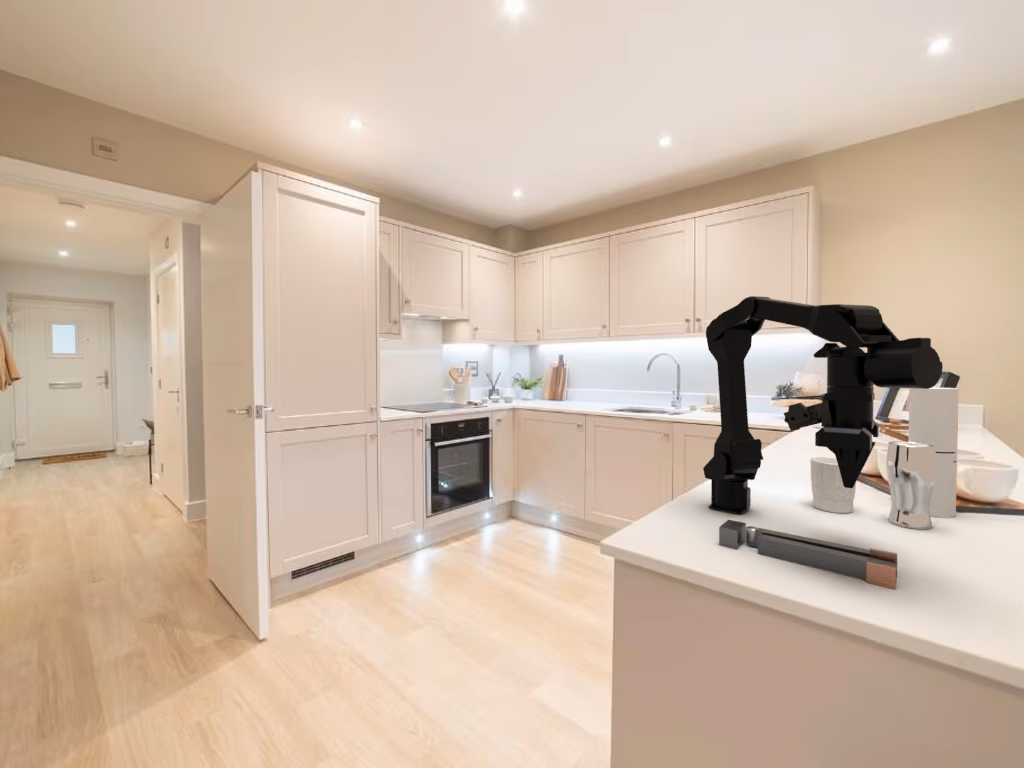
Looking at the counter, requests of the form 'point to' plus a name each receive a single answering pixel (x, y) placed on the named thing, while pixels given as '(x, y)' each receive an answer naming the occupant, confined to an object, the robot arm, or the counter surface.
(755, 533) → the bar
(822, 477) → the white cup
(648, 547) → the counter surface
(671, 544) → the counter surface
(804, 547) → the base
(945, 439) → the beige tall box
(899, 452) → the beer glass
